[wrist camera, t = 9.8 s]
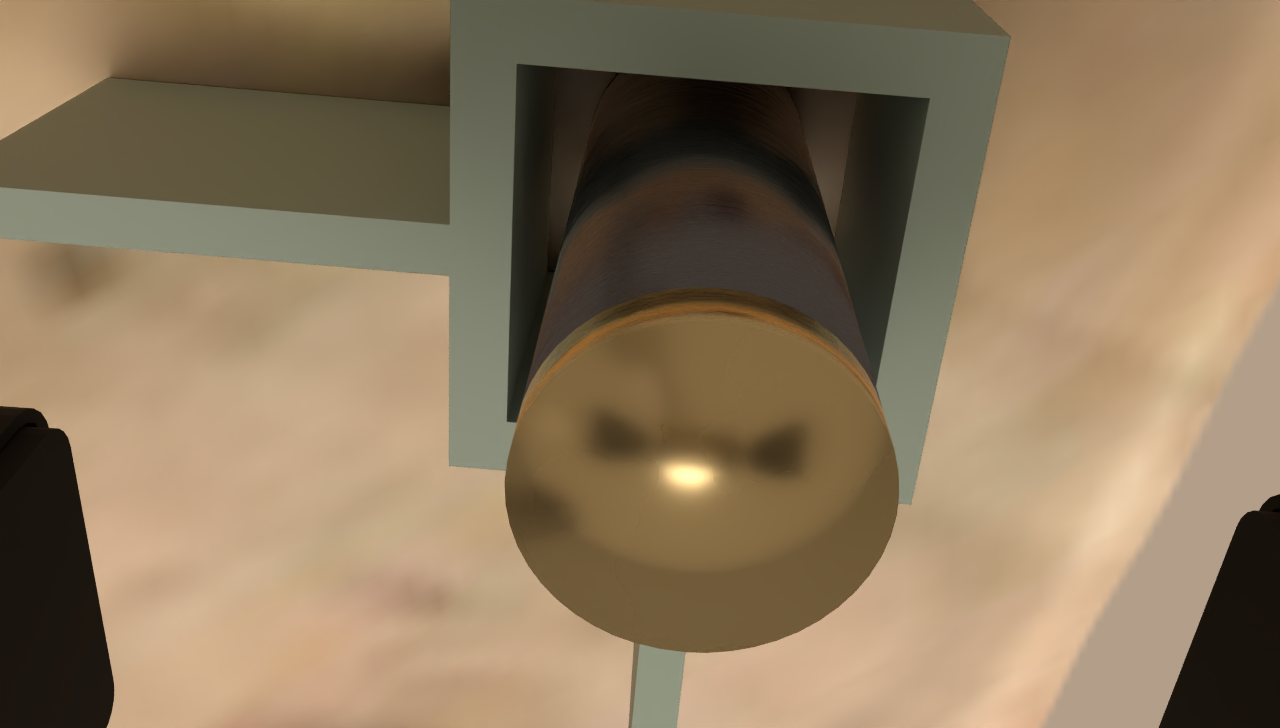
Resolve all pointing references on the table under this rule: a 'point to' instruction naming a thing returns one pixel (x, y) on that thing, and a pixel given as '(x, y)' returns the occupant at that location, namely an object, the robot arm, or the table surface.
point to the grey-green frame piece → (539, 183)
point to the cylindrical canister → (700, 383)
